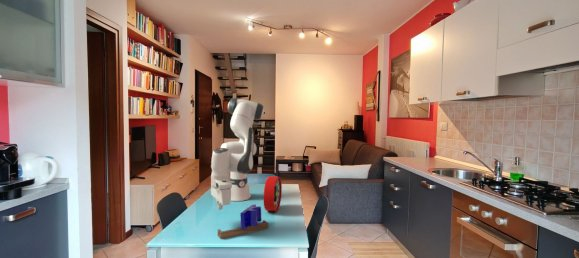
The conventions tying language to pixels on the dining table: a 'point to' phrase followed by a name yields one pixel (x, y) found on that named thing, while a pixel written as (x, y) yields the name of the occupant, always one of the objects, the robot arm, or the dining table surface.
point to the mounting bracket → (251, 216)
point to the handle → (242, 230)
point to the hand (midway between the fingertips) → (219, 208)
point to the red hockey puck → (272, 193)
